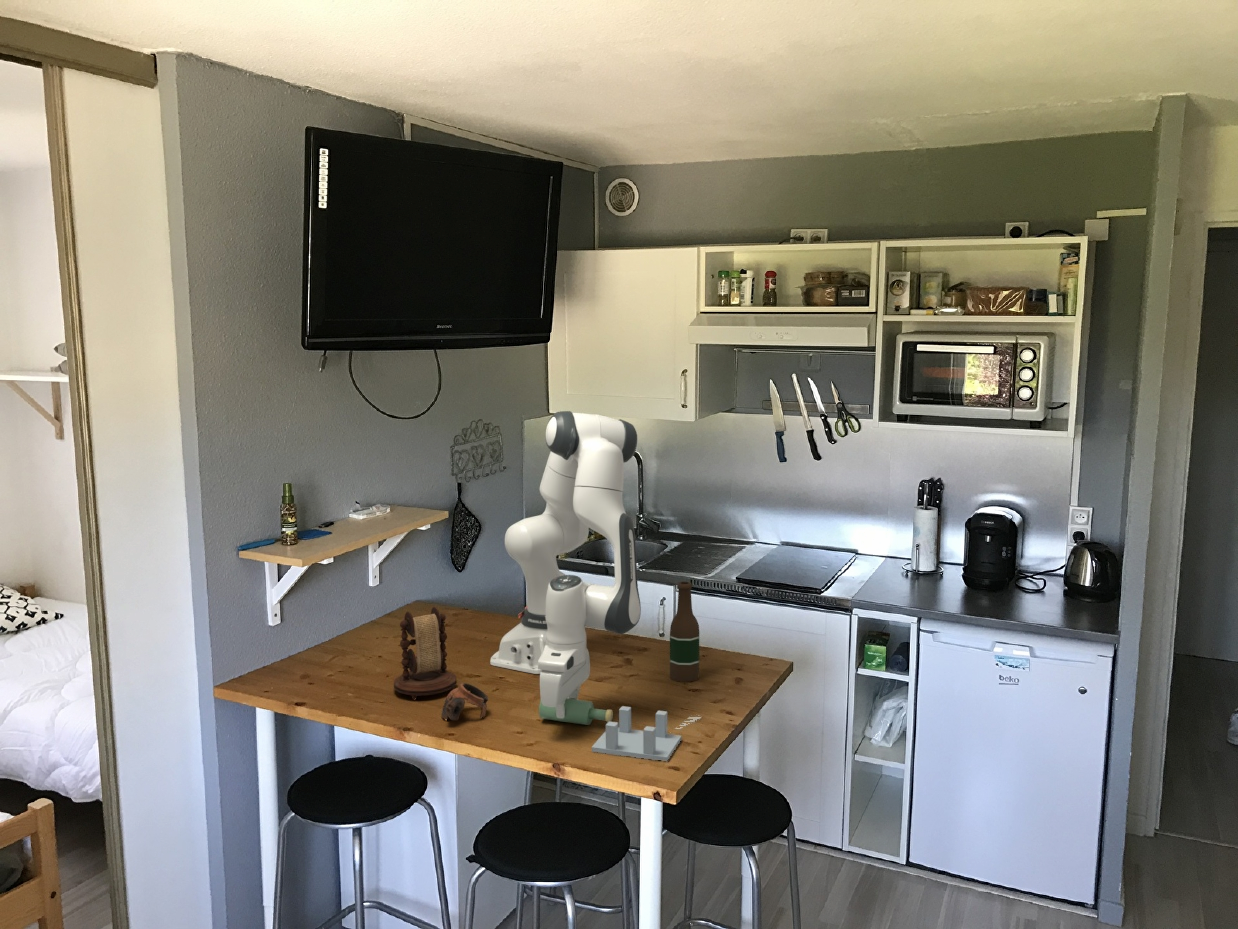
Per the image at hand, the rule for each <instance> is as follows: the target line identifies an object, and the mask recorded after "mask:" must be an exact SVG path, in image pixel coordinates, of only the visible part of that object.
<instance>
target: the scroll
mask: <svg viewBox="0 0 1238 929" xmlns="http://www.w3.org/2000/svg"><path fill="white" fill-rule="evenodd" d="M446 619H447V616H446V615H445V613H442V612H440V611H439V609H438V608H437V607H436V606H433V607H432V608H431V611H430V614H425V615H421V616H414V617H413V615H412V613H411V611H409V610H408V611H406V612H405V614H404V619H403V620H401V621H400V622H399V627H400V628H401V629H400V631H402V632H401V635H400V637H401V640H400V641H399V642H400V645H399V646H400V648H401V649H402V652H401V653H402V654H401V657H402V659H401V662H400V663H401V666H402V669H403V670H402V673H401V675H399V676H396V678H395V679H394V680H393V689H394V690H395V692H397V693H399V694H403V695H406V696H411V698H412V700H413V699H415V698H416V699H417V697H419V696H421V697H422V696H430V695H431V696H432V695H437V694H442V693H445V692H447V691H449V692H451V691H452V690H453V689H455V686H456V685H457V676H456V675H455V673H453V672H452V671H451V672H450V671H449V670H447V669H448V665H447V663H446V661H447V659H446V658H447V656H448V653H447V651H446V649H447V646H446V644H445V643H446V641H447V639H448V635H447V632H445V631H446V626H445V624H446ZM408 635H409V636H410V637H411V640H410V639H408V637H409V636H408ZM414 638H415V639H414ZM410 646H416V647H415V648H416V655H415V651H414V650H413V649H411V648H409V647H410Z"/></svg>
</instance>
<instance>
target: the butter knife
mask: <svg viewBox="0 0 1238 929" xmlns="http://www.w3.org/2000/svg"><path fill="white" fill-rule="evenodd" d="M697 715H698V716H700V714H697ZM686 719H693V720H690V721H685V720H684V721H683V722H693V723H695V720H696V722H697V719H699V720H701V719H702V716H701V717H690V716H689V717H688V718H686ZM683 722H682V723H681V724H684V725H681V724H679V725H678V726H685V727H687V726H689V725H691V724H690V723H688V724H689V725H688V724H686V723H683ZM686 725H687V726H686ZM674 729H680V730H682V729H683V727H680V728H677V727H675V728H674Z"/></svg>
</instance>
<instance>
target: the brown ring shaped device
mask: <svg viewBox="0 0 1238 929" xmlns="http://www.w3.org/2000/svg"><path fill="white" fill-rule="evenodd" d="M488 701H489V697H488V695H487V694H486V693H485V692H483V691H482V690H481V689H479V688H478V687H476V686H475V685H472V684H470V683H466V682H462V683H460V684H459V686H458V687H456V688H454V689H453V690H452V691H449V693H448V694H447V696H446V698H445V701H444V703H443V704H444V705H442V706H443V707H442V711H441V717H443V718H444V719H448V720H449V719H450V720H451V721H458V720H459V717H460V714H461V712H462V711H463V709H464V707H465V703H468V704H471V705H473V706H477V707H478V708H481V711H480V715H479V718H480V719H482V718H481V717H483V716H484V717H485V716H486V712H487V711H488V710H487V708H488V707H487V702H488ZM484 717H483V718H484ZM443 718H442V719H443ZM444 719H443V720H444Z"/></svg>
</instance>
